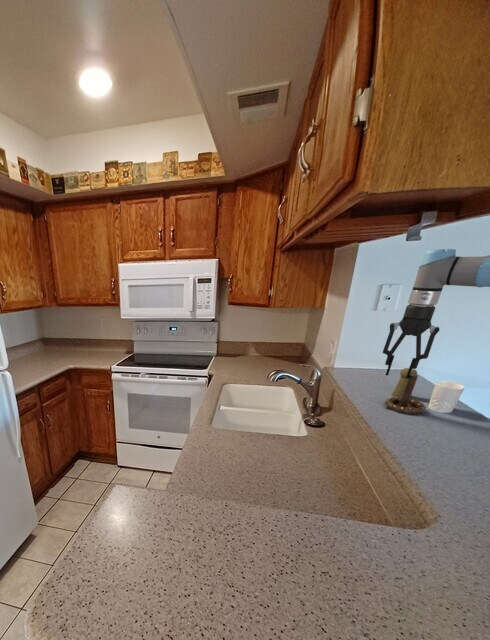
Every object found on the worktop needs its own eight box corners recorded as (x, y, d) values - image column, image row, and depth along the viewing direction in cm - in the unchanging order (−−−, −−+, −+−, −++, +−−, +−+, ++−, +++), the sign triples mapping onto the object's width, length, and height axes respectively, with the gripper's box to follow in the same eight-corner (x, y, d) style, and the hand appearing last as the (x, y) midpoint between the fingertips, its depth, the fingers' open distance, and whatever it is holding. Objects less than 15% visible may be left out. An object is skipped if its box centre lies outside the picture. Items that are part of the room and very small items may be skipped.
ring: (425, 405, 118) (427, 400, 117) (424, 417, 109) (426, 412, 108) (386, 398, 124) (387, 393, 123) (382, 409, 116) (384, 404, 115)
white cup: (444, 417, 112) (456, 390, 108) (420, 409, 119) (430, 383, 114) (457, 413, 115) (470, 386, 110) (433, 405, 122) (444, 379, 117)
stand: (416, 409, 119) (430, 373, 112) (415, 418, 112) (430, 381, 106) (387, 404, 123) (399, 369, 117) (385, 412, 117) (397, 376, 110)
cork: (389, 395, 130) (398, 369, 125) (394, 391, 134) (403, 365, 129) (407, 399, 127) (417, 372, 121) (411, 395, 130) (421, 368, 125)
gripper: (386, 304, 105) (365, 374, 116) (459, 308, 96) (429, 384, 107) (388, 301, 110) (368, 368, 121) (457, 305, 101) (429, 377, 112)
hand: (397, 375), depth 114 cm, fingers open, 5 cm apart
